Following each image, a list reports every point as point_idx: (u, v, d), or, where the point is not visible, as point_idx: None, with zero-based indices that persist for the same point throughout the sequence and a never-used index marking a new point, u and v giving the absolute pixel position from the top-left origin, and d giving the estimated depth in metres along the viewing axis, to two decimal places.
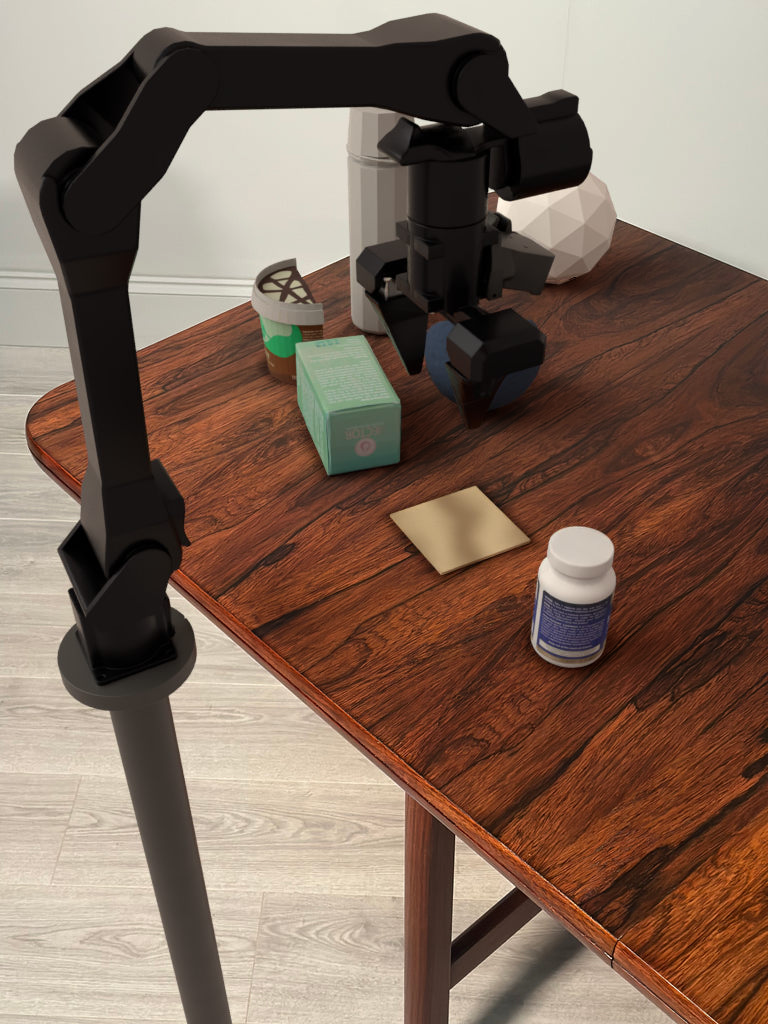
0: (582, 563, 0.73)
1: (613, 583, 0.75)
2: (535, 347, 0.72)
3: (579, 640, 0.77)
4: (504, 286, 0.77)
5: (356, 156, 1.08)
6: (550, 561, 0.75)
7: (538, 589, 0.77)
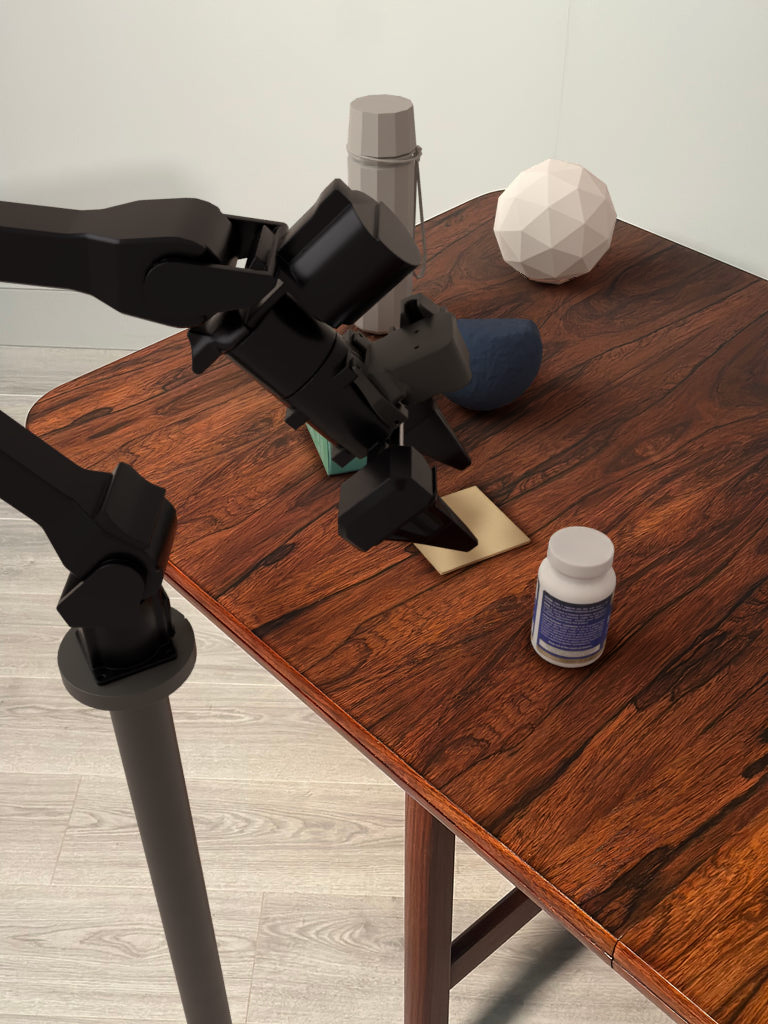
0: (582, 563, 0.73)
1: (613, 583, 0.75)
2: (398, 499, 0.61)
3: (579, 640, 0.77)
4: (408, 403, 0.65)
5: (356, 156, 1.08)
6: (550, 561, 0.75)
7: (538, 589, 0.77)
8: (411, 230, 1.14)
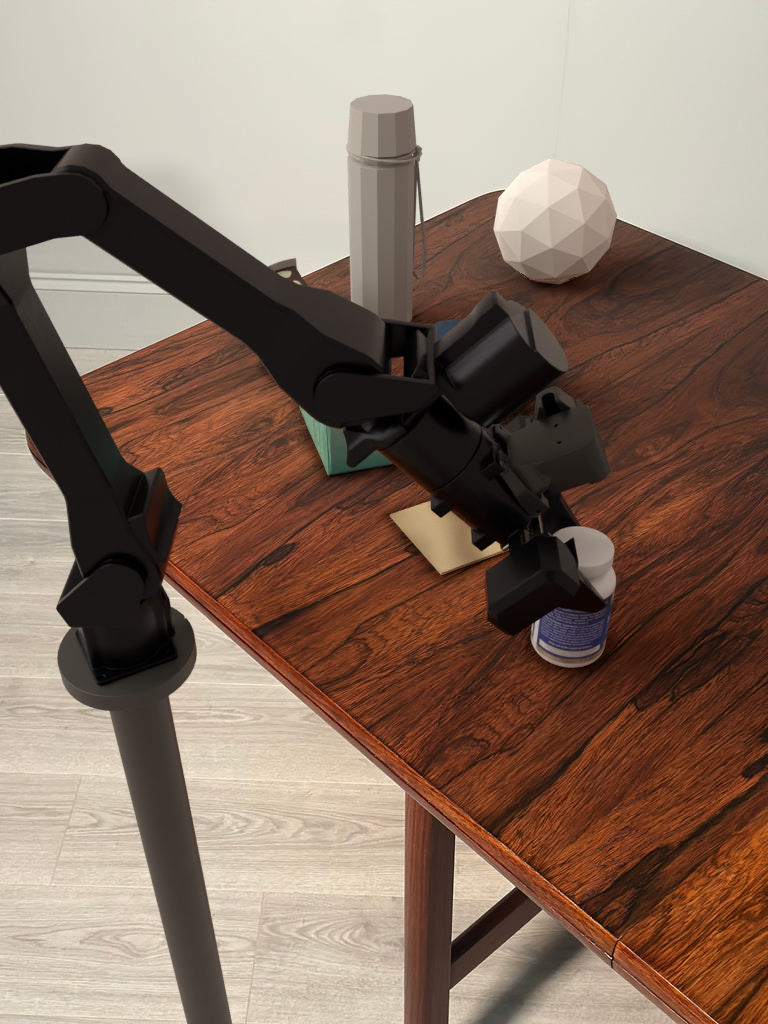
0: (582, 563, 0.73)
1: (613, 583, 0.75)
2: (549, 589, 0.65)
3: (579, 640, 0.77)
4: (550, 494, 0.69)
5: (356, 156, 1.08)
6: None
7: None
8: (411, 230, 1.14)
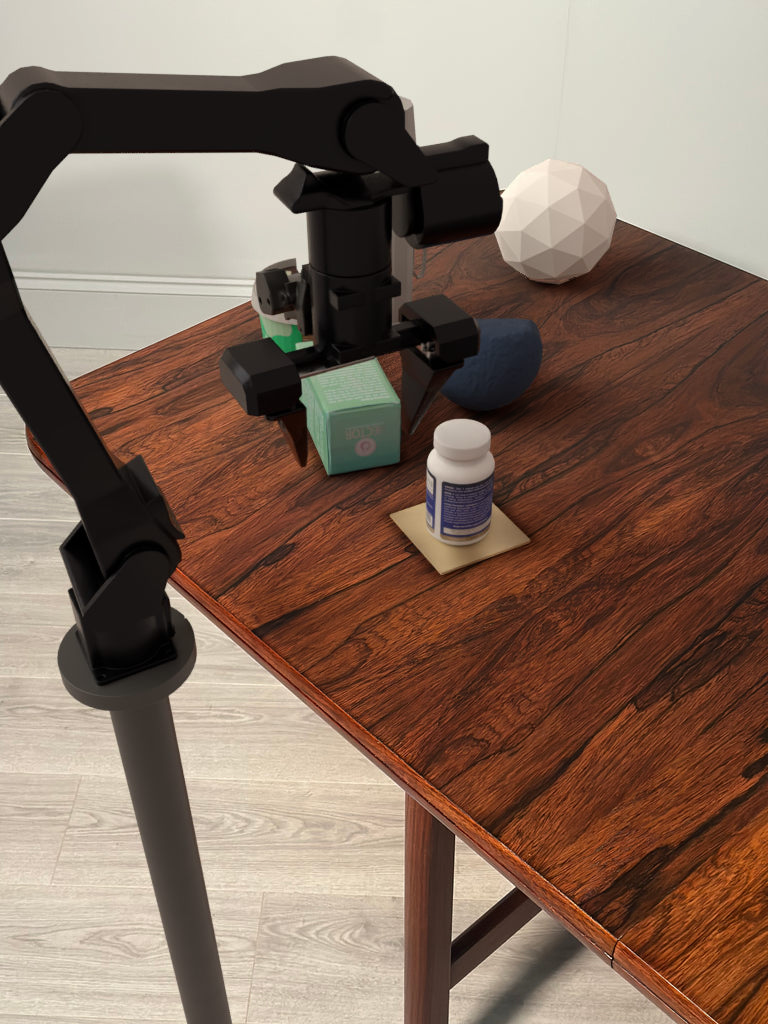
0: (473, 445, 0.84)
1: None
2: None
3: (479, 515, 0.88)
4: None
5: None
6: (443, 454, 0.85)
7: (434, 483, 0.87)
8: None
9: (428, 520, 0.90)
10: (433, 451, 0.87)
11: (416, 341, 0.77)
